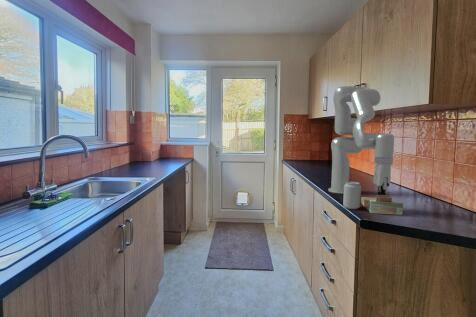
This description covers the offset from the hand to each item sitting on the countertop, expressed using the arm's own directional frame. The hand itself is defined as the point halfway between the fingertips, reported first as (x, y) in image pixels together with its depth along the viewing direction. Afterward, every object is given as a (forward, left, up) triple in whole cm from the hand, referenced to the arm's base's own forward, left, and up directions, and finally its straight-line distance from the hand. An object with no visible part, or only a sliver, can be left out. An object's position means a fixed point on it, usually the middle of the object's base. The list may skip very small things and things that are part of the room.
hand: (381, 200), depth 141 cm
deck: (0, 0, -4) cm, 4 cm away
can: (+1, -13, -4) cm, 14 cm away
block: (+5, 0, -1) cm, 5 cm away
